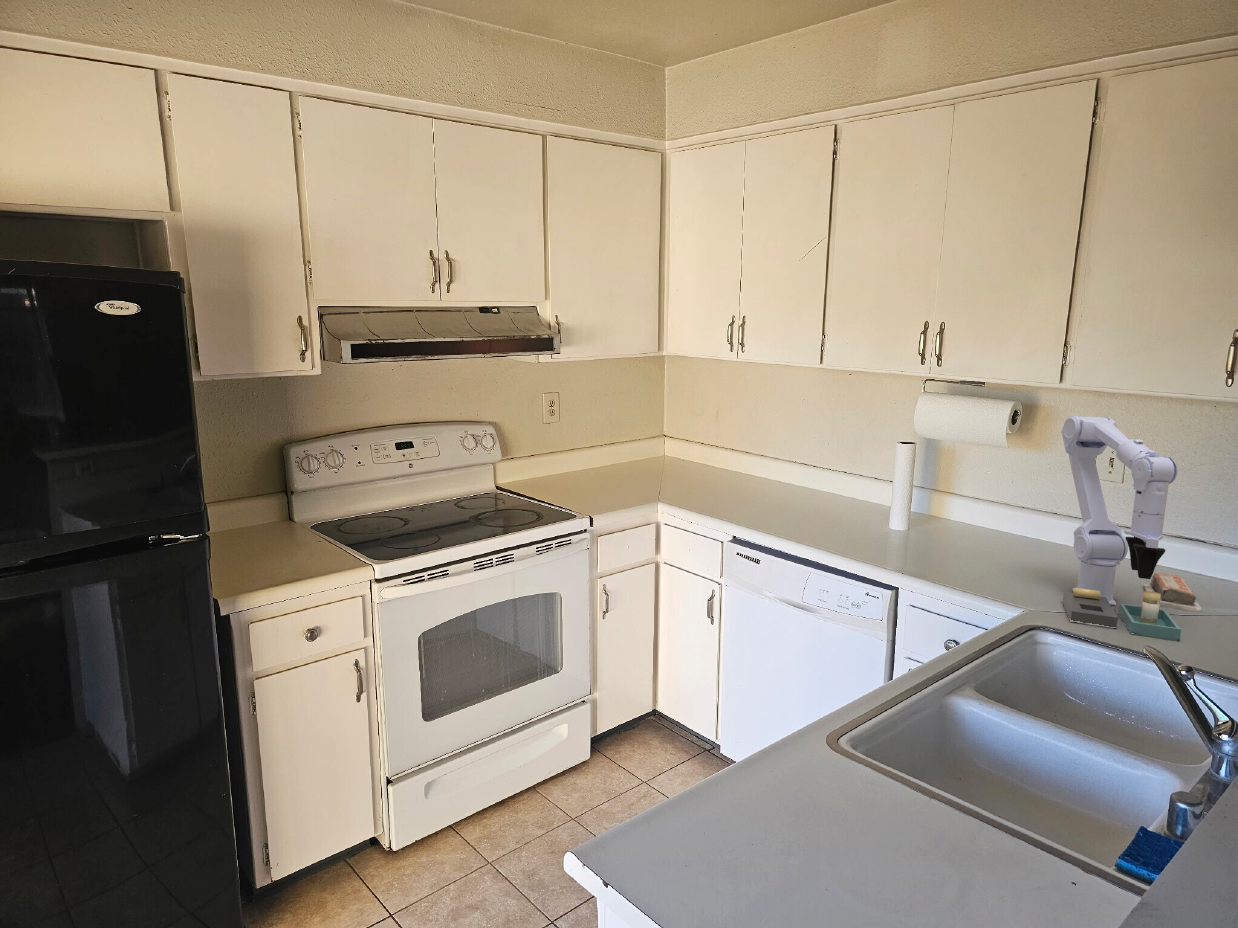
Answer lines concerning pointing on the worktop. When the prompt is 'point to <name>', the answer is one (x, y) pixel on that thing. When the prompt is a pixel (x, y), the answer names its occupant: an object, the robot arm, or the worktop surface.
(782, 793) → the worktop surface
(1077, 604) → the fuse board
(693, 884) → the worktop surface
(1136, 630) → the parts tray
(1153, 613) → the cylinder
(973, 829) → the worktop surface
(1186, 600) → the packaged product
